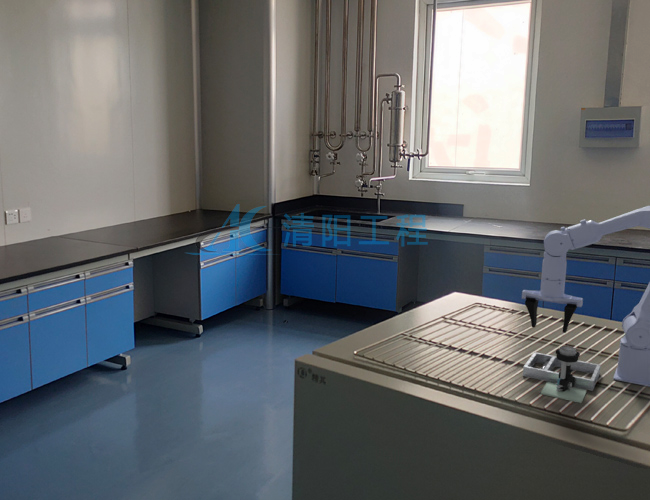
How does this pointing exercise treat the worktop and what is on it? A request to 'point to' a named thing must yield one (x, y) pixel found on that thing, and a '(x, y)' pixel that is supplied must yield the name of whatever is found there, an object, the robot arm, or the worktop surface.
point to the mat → (564, 393)
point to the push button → (566, 367)
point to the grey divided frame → (554, 376)
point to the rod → (545, 365)
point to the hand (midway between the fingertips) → (549, 328)
